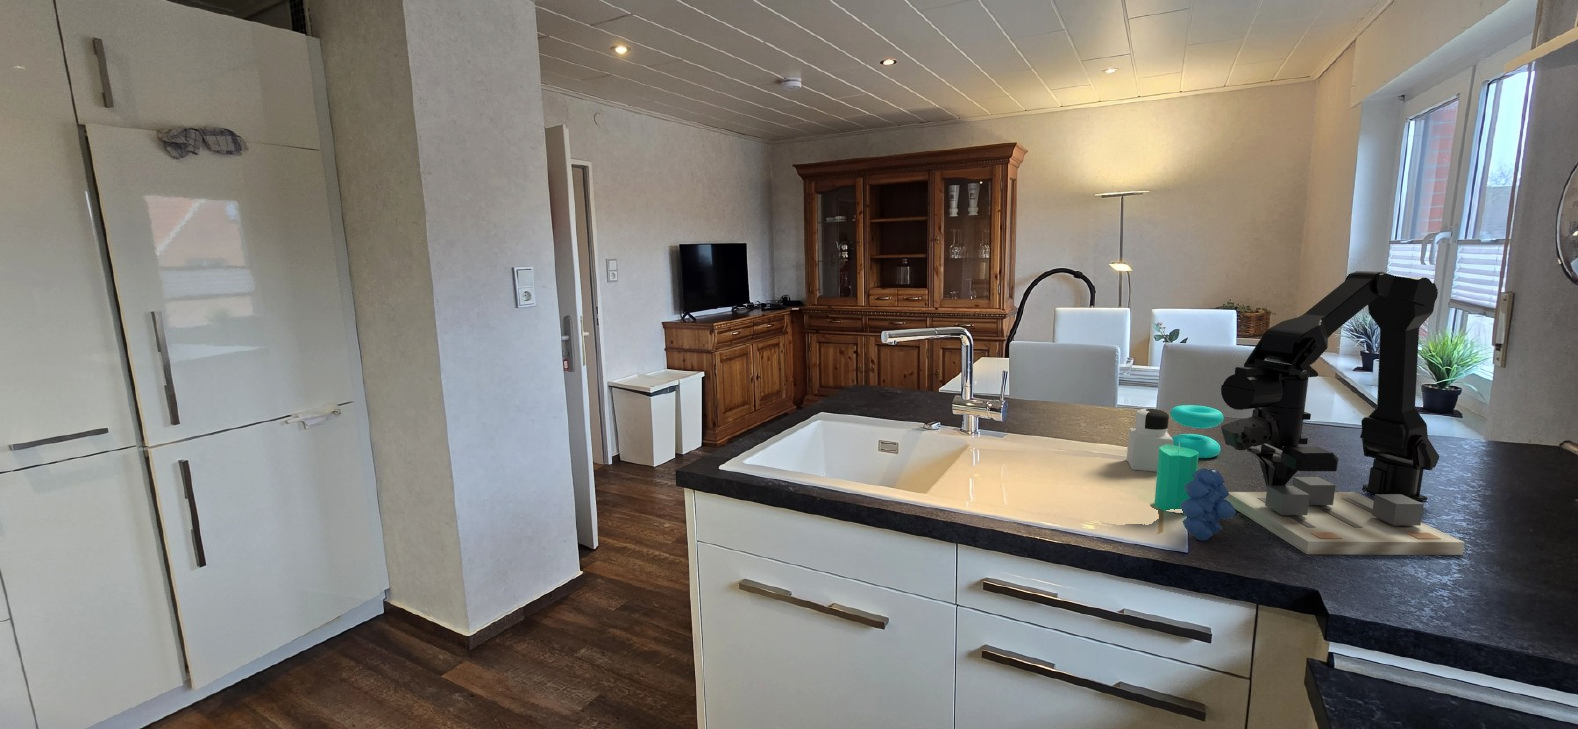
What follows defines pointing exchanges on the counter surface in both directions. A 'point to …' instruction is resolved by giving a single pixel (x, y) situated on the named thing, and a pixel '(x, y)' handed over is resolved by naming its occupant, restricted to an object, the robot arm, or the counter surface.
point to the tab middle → (1316, 489)
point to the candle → (1174, 475)
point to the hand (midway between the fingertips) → (1272, 494)
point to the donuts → (1197, 419)
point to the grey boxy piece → (1397, 509)
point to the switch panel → (1345, 528)
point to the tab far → (1287, 500)
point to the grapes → (1206, 504)
